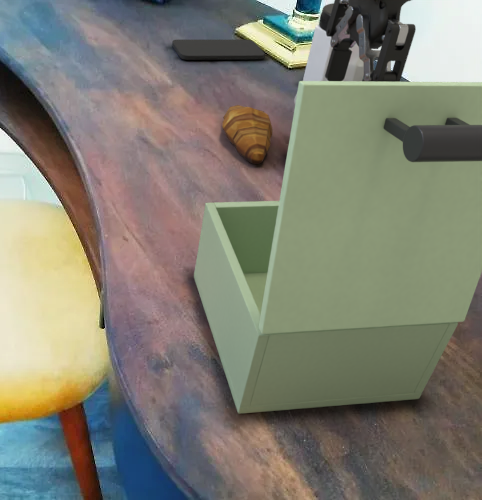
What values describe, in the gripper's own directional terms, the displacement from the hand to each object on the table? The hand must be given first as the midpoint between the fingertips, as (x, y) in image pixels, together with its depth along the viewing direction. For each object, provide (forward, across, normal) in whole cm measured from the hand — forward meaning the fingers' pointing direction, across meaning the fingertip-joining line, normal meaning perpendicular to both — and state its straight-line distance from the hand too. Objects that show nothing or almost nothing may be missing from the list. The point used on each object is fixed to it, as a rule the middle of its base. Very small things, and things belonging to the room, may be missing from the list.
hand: (347, 95), depth 74 cm
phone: (+11, +40, +4) cm, 42 cm away
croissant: (+11, +9, +8) cm, 16 cm away
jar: (+11, +26, -11) cm, 30 cm away
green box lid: (-7, -33, +13) cm, 36 cm away
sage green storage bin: (+11, -26, +13) cm, 31 cm away
